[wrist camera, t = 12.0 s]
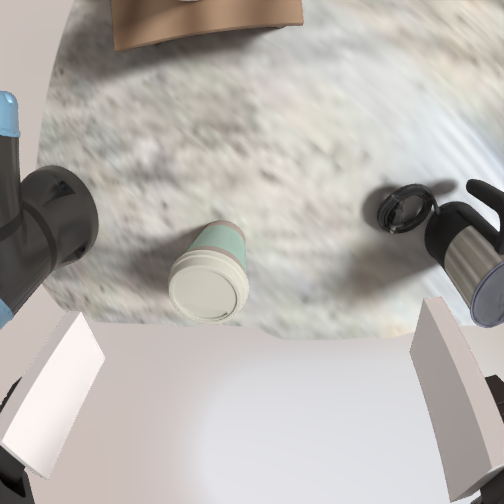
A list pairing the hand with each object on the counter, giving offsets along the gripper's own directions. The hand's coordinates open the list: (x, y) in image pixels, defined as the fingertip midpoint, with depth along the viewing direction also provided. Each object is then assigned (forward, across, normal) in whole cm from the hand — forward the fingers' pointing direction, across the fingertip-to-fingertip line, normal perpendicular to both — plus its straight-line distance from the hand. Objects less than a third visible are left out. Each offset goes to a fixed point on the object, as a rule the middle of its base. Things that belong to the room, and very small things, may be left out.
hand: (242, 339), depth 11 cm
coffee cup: (+29, -7, -10) cm, 31 cm away
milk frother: (+29, +21, -10) cm, 37 cm away
